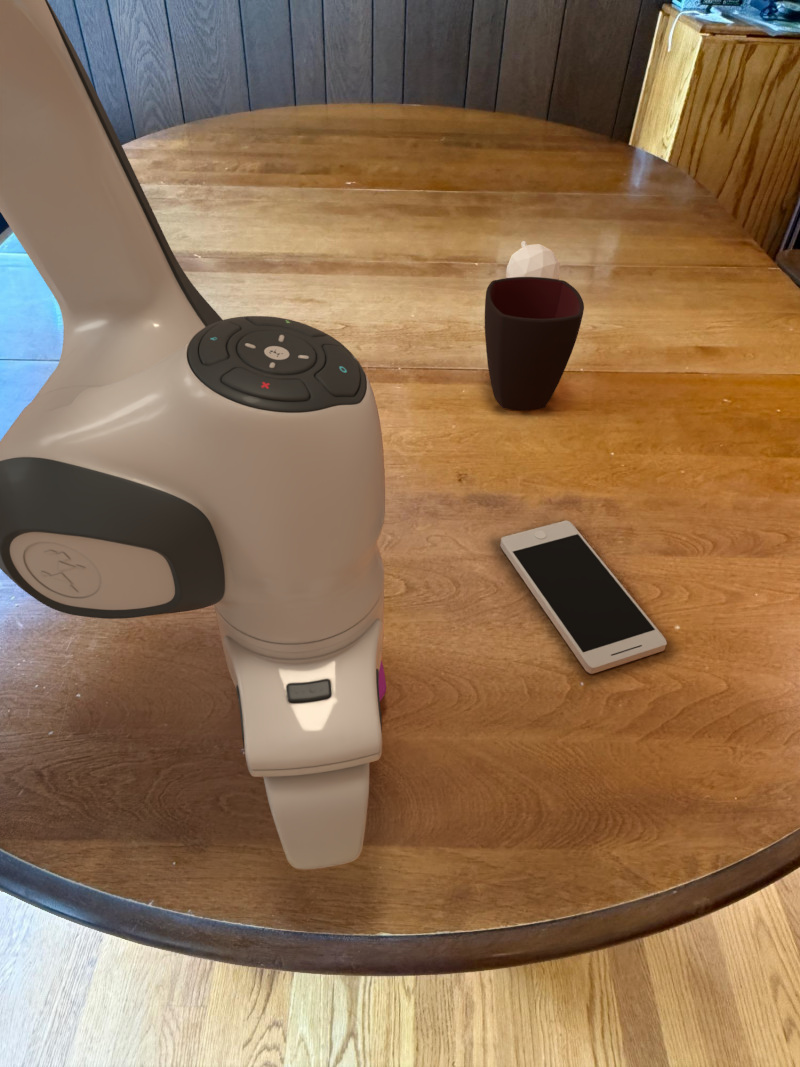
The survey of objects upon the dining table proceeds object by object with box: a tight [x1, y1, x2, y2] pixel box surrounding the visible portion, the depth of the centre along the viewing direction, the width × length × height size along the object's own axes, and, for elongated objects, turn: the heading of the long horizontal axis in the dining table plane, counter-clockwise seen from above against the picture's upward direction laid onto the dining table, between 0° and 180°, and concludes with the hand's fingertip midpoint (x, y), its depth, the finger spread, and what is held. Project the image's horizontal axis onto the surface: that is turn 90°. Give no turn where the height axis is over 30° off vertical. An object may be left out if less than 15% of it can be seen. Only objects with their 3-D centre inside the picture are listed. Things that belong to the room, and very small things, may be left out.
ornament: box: [505, 240, 561, 280], centre depth 103 cm, size 7×7×8 cm
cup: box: [484, 277, 585, 412], centre depth 85 cm, size 10×14×12 cm
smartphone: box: [500, 520, 668, 675], centre depth 65 cm, size 7×15×1 cm, turn 21°
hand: (315, 753), depth 51 cm, fingers closed
